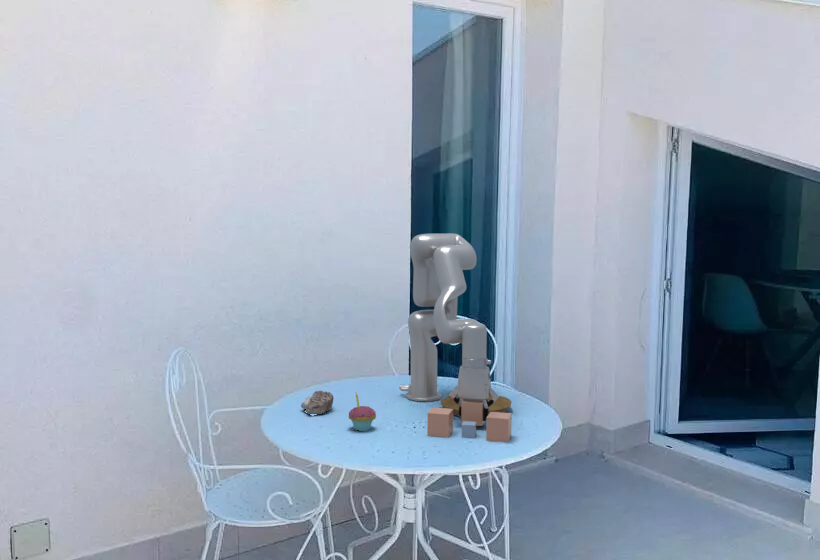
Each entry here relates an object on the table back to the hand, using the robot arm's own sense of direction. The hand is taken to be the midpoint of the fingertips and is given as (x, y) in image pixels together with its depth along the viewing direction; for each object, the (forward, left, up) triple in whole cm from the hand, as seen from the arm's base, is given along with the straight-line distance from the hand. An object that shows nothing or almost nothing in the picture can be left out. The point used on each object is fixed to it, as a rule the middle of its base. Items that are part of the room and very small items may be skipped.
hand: (473, 418), depth 248 cm
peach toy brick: (-8, -10, -3) cm, 13 cm away
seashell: (-54, +4, -3) cm, 54 cm away
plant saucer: (-3, +19, -3) cm, 20 cm away
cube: (0, -10, -3) cm, 10 cm away
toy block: (0, 0, -1) cm, 1 cm away
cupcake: (-33, -12, -3) cm, 35 cm away
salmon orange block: (+10, -10, -3) cm, 14 cm away
